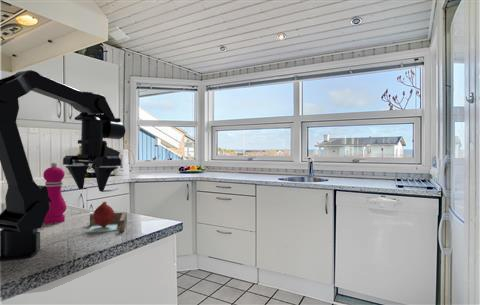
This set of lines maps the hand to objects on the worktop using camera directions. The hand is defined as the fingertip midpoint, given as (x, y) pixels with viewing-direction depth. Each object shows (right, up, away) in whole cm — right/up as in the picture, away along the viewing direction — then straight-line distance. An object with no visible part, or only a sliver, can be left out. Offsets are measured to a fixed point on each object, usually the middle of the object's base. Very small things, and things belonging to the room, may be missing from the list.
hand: (91, 190), depth 83 cm
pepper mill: (-19, -13, +13) cm, 26 cm away
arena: (+3, -13, +4) cm, 13 cm away
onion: (+2, -12, +5) cm, 13 cm away
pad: (+2, -13, +5) cm, 13 cm away
